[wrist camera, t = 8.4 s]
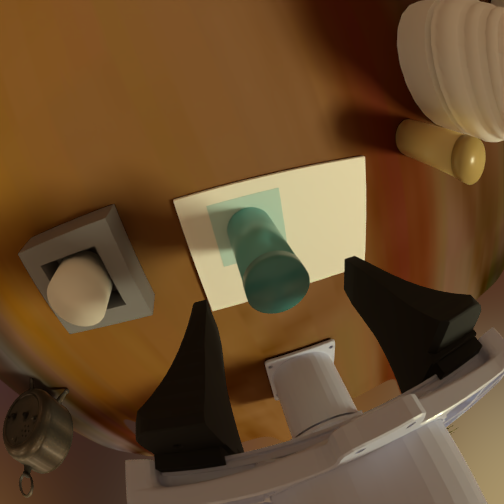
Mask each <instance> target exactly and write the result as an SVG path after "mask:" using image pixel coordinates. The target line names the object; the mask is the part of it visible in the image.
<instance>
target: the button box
mask: <svg viewBox="0 0 504 504" xmlns="http://www.w3.org/2000/svg"><path fill="white" fill-rule="evenodd" d="M82 250H87V251H91V252H93V253H95V254H97V255H99V256H100V257H101V259H102V261H103V263H104V265H105V267H106V269H107V271H108V273H109V275H110V277H111V279H112V280H113V282H114V283H113V287H112V291H111V294H110V298H109V301H108V305H107V308H106V312H105V316H104V318H103V319H102V320H101V321H100V322H99V323H97V324H95V325H93V326H85V327H84V326H77V325H74V324H71V323H69V322H67V321H65V320H63V319H62V318H61V317H60V316H58V315H57V314H56V313H55V311H54V310H53V309H52V307H51V306H50V304H49V301H48V298H47V288H48V285H49V283H50V281H51V279H52V277H53V276H54V274H55V272H56V270H57V269H58V267H59V265H60V264H61V262H62V260H63V259H64V257H66V256H68V255H71V254H74V253H77V252H79V251H82ZM18 255H19V257H20V259H21V261H22V263H23V264H24V266H25V268H26V270H27V271H28V273H29V275H30V276H31V278H32V280H33V281H34V283H35V285H36V286H37V288H38V289H39V291H40V293H41V294H42V296H43V297H44V299H45V300H46V302H47V303H48V305H49V306H50V308H51V309H52V310H53V312H54V313H55V315H56V316H57V317H58V319H59V320H60V322H61V323H62V324H63V326H64V327H65V328H66V330H67V331H68V332H69V334H72V333H77V332H81V331H86V330H91V329H95V328H99V327H104V326H108V325H113V324H117V323H121V322H125V321H129V320H134V319H138V318H142V317H146V316H150V315H153V306H154V296H155V294H154V292H153V290H152V288H151V286H150V284H149V282H148V280H147V278H146V276H145V274H144V272H143V270H142V267H141V265H140V263H139V261H138V259H137V257H136V254H135V252H134V250H133V248H132V246H131V243H130V241H129V239H128V236H127V234H126V232H125V229H124V227H123V224H122V222H121V220H120V217H119V215H118V212H117V210H116V207H115V205H114V204H113V205H110V206H107V207H104V208H102V209H99V210H96V211H94V212H91V213H89V214H86V215H83V216H81V217H78V218H76V219H74V220H71V221H69V222H66V223H64V224H61V225H59V226H57V227H54V228H52V229H50V230H47V231H45V232H43V233H41V234H39V235H36V236H34V237H32V238H31V239H30V240H29V241H28V242H27V243H26V244H25V246H24V247H23V248H22V249H21V250H20V252H19V253H18Z"/></svg>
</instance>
